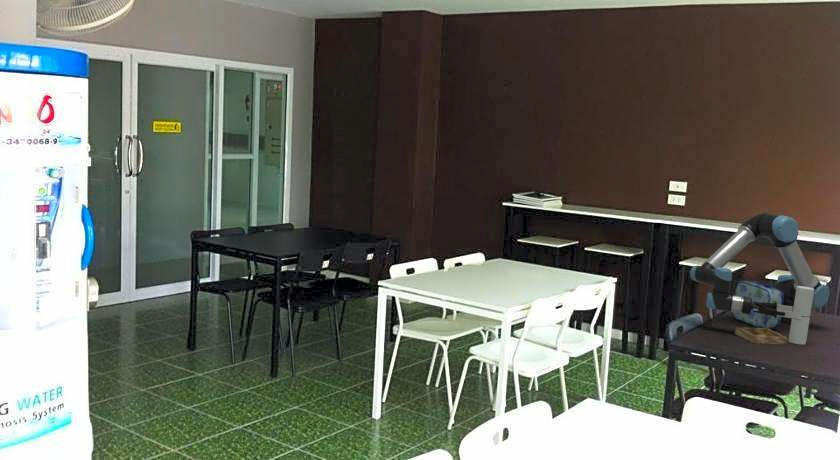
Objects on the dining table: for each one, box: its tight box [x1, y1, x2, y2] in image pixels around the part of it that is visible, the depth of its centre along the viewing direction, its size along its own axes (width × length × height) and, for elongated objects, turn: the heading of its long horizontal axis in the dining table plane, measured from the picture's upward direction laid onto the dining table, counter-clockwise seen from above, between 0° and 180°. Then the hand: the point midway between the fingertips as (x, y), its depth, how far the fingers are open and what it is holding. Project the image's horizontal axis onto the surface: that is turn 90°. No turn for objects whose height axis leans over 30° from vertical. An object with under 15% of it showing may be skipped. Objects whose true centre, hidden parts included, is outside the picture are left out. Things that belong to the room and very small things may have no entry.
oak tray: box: [734, 326, 788, 346], centre depth 368 cm, size 16×16×3 cm
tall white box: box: [787, 286, 814, 346], centre depth 366 cm, size 7×7×25 cm
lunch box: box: [732, 280, 784, 330], centre depth 397 cm, size 26×11×21 cm, turn 16°
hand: (792, 312), depth 366 cm, fingers open, 13 cm apart
